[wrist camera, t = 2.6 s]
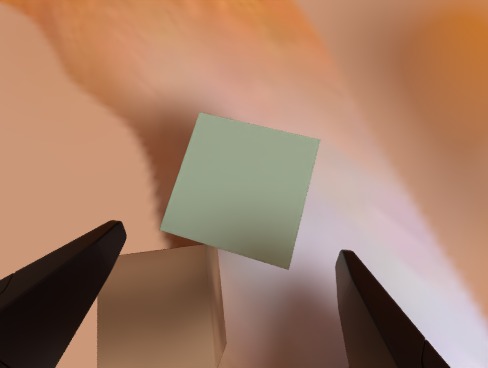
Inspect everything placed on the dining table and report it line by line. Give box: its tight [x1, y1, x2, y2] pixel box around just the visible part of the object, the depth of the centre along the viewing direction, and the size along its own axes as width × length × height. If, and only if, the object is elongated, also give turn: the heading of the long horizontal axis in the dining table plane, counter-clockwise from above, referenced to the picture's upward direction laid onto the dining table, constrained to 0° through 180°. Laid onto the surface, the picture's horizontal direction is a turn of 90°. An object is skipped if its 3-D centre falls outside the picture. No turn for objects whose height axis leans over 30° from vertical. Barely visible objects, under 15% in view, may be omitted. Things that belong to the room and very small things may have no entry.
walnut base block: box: [97, 244, 227, 368], centre depth 17 cm, size 7×7×4 cm
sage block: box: [159, 112, 320, 270], centre depth 14 cm, size 5×5×10 cm
